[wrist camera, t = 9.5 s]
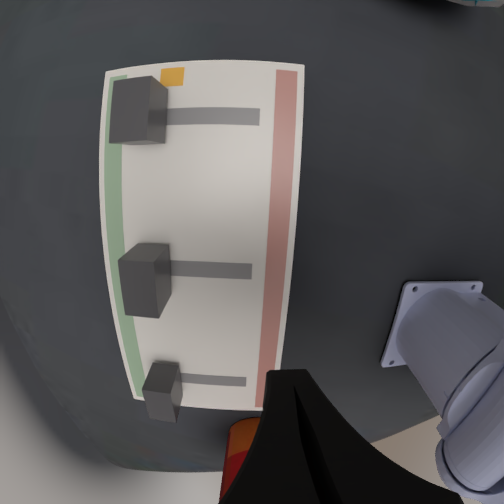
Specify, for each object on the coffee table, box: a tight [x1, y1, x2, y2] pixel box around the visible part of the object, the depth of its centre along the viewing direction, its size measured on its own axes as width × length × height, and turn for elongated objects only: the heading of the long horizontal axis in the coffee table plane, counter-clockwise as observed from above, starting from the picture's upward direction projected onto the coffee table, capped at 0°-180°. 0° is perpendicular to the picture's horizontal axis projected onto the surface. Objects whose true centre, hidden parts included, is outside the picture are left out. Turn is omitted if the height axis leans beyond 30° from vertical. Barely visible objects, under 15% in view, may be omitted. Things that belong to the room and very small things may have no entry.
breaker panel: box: [99, 60, 304, 411], centre depth 18 cm, size 12×25×2 cm, turn 177°
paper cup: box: [219, 417, 261, 502], centre depth 18 cm, size 8×8×14 cm
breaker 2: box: [118, 243, 172, 319], centre depth 15 cm, size 2×3×3 cm, turn 177°
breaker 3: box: [142, 362, 183, 423], centre depth 18 cm, size 2×3×3 cm, turn 177°
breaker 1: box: [109, 75, 168, 145], centre depth 13 cm, size 2×3×3 cm, turn 177°
